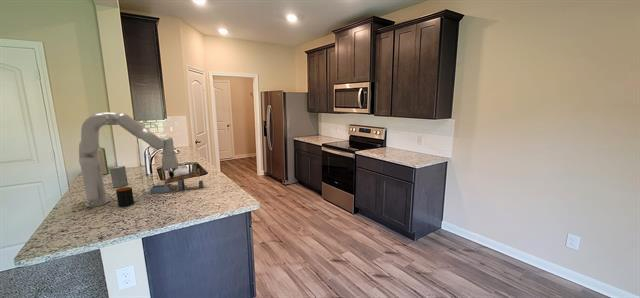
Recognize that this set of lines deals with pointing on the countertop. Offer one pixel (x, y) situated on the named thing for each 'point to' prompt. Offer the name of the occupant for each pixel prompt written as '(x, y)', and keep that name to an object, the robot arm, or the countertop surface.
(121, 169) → the skincare box
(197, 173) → the brown flat board
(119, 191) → the mug
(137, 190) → the countertop surface
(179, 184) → the fulcrum
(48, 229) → the countertop surface
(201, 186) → the rest block
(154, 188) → the dish
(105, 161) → the hardback book
